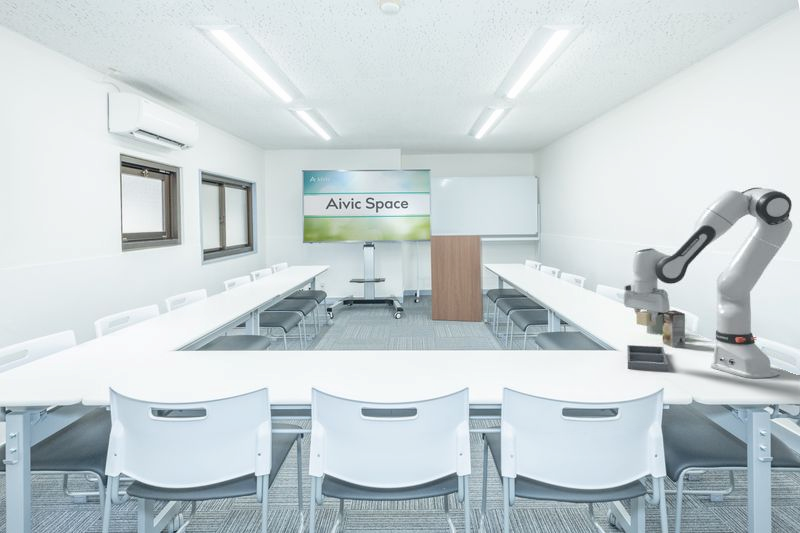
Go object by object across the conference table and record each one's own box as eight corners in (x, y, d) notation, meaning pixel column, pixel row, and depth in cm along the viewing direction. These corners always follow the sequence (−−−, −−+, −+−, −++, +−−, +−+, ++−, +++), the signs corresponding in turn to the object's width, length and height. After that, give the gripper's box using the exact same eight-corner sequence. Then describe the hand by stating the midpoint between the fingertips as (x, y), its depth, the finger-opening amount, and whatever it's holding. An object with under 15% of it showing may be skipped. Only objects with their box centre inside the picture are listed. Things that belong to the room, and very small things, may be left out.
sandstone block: (655, 324, 195) (655, 312, 194) (646, 326, 193) (646, 314, 193) (645, 322, 199) (645, 311, 199) (636, 324, 198) (636, 312, 197)
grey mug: (642, 332, 254) (641, 305, 253) (659, 328, 260) (659, 302, 259) (657, 335, 246) (656, 307, 245) (674, 331, 252) (674, 303, 251)
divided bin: (668, 371, 187) (668, 364, 187) (627, 368, 193) (627, 361, 193) (663, 353, 212) (663, 346, 212) (627, 351, 219) (627, 345, 219)
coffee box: (661, 342, 230) (661, 310, 229) (675, 342, 230) (674, 310, 229) (672, 347, 221) (671, 314, 220) (686, 346, 221) (685, 313, 220)
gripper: (673, 289, 186) (673, 323, 187) (631, 284, 206) (632, 315, 207) (661, 290, 184) (661, 325, 185) (620, 286, 203) (621, 317, 204)
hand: (646, 320), depth 196 cm, fingers closed on sandstone block, 5 cm apart
